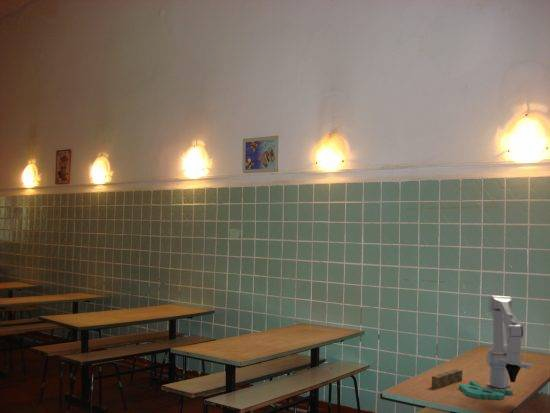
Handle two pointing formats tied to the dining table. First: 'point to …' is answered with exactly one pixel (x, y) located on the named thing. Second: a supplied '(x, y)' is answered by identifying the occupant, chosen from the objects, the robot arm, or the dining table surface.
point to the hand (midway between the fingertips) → (512, 381)
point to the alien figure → (483, 391)
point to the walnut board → (446, 378)
